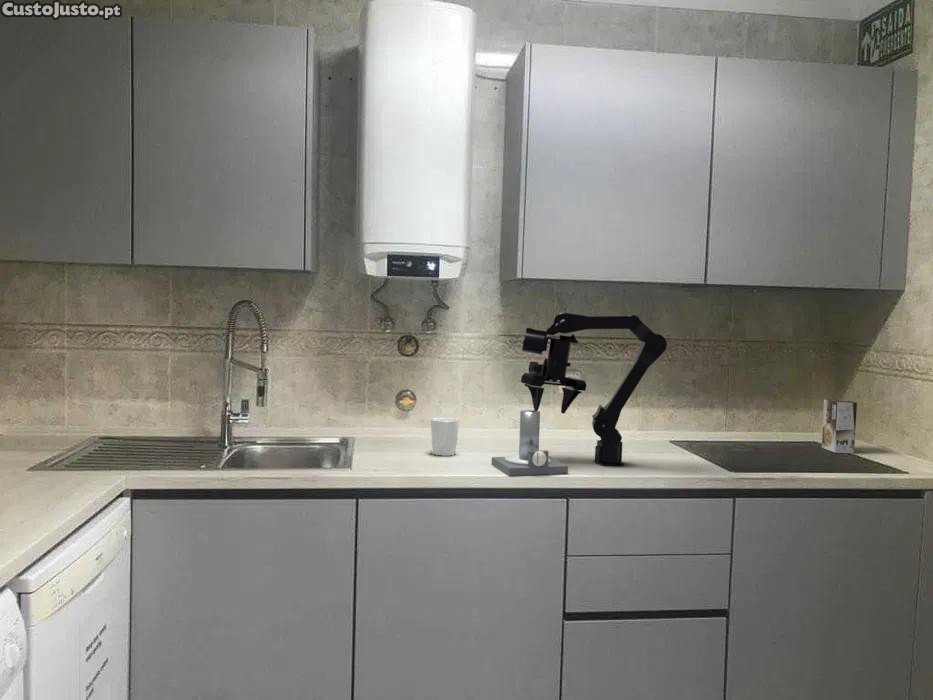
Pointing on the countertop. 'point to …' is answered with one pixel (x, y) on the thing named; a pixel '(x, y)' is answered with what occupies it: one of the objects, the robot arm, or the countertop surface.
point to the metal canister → (529, 432)
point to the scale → (529, 464)
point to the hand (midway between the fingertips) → (549, 412)
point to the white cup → (444, 435)
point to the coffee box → (839, 425)
